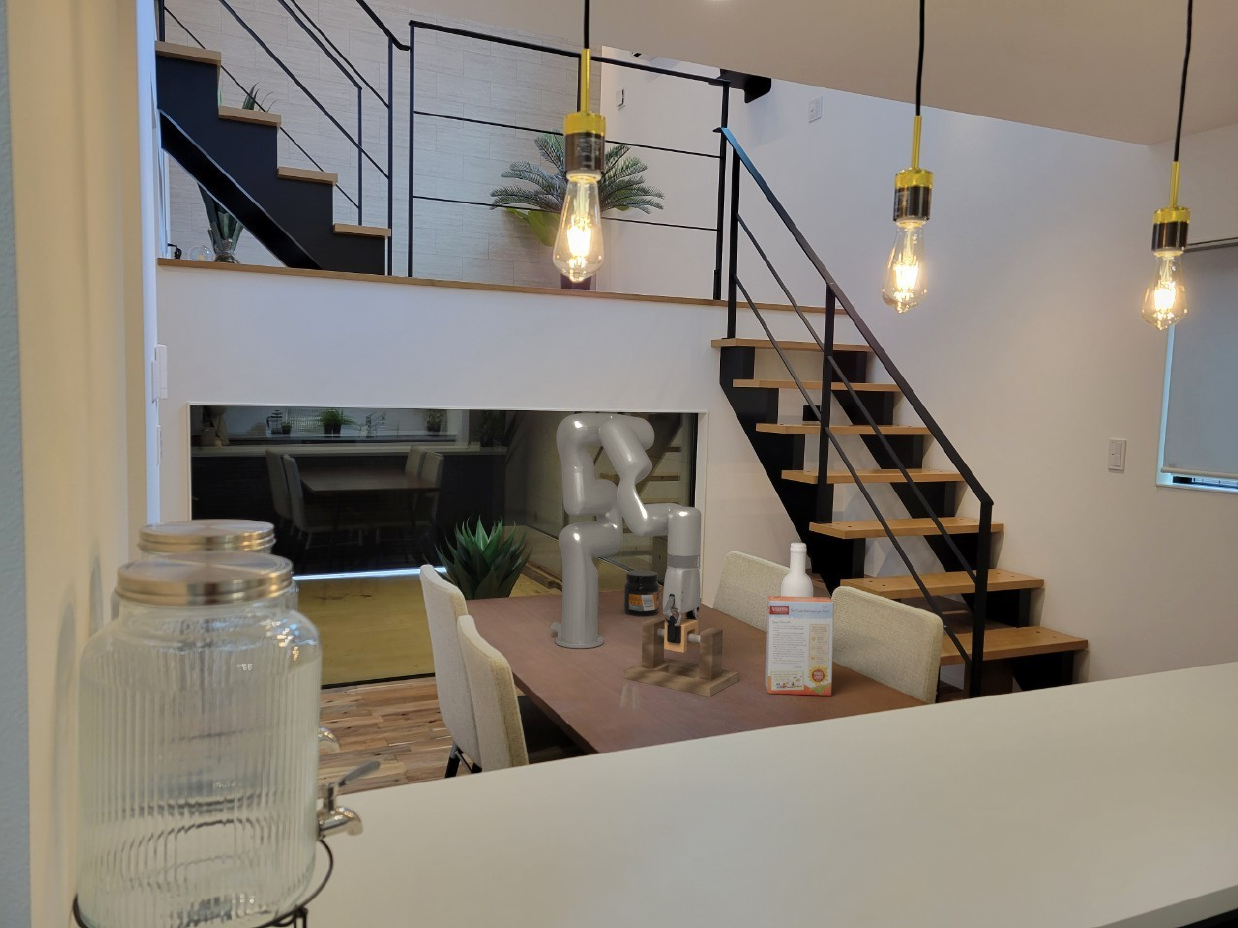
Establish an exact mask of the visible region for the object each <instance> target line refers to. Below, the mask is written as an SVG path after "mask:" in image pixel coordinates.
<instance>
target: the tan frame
mask: <svg viewBox="0 0 1238 928" xmlns="http://www.w3.org/2000/svg"><path fill="white" fill-rule="evenodd" d="M665 623H666V619H661V618H656V617H653V618H650V619H648V620H645V621H642V635H641V636H642V642H641V644H642V645H641V646H642V647H641V661H640V662H639V663H636V664H634V665H632V666H629V667H627V668H625V669H624V670H623V679H625V680H629V681H635V682H640V683H643V684H649V685H653V686H657V687H661V688H666V689H671V690H674V691H675V690H676V691H680V692H684V693H685V692H686V693H689V694H695V695H700V696H703V697H709V698H710V697H712V696H714V695H716V694H717V693H719V692H722V690H724V689H727V688H728V687H729V686H732V685H733V684H735V683H737V682H738V681H739V672H738V671H733V670H727V669H725V668H724V669H723V668H722V666H723V663H722V662H723V631H724V630H723V629H721V628H715V627H709V628H707V629H704V630H702V631H700V633H699V634H700V635H699V634H698V635H695V634H690V633H687V642H689V643H695V644H698V645H699V664H698V663H697V664H696V663H693V662H687V661H682V660H677V659H672V658H665V649H664V635H665Z"/></svg>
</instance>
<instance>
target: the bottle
mask: <svg viewBox="0 0 1238 928" xmlns="http://www.w3.org/2000/svg"><path fill="white" fill-rule="evenodd" d="M789 550H790V562H789V565H790V567H789V572H788V573H787V574H785V576H784V577H782V582H781V584H780V596H787V597H814V585H813V581H812V578H811V577H810V575H808V574H807V573H806V560H807V559H806V558H807V557H806V556H807V544H806V543H804V542H792V543H791V544H790V548H789Z"/></svg>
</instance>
